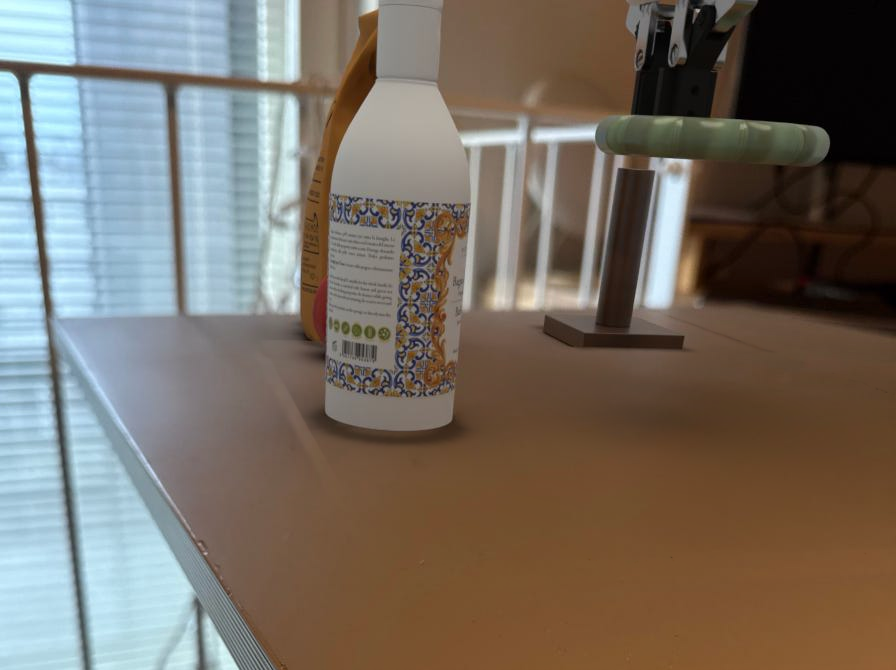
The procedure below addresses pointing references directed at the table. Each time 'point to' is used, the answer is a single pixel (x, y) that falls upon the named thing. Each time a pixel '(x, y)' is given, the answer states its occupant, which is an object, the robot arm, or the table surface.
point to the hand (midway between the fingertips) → (664, 150)
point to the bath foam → (398, 238)
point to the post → (619, 278)
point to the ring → (712, 139)
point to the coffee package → (339, 118)
